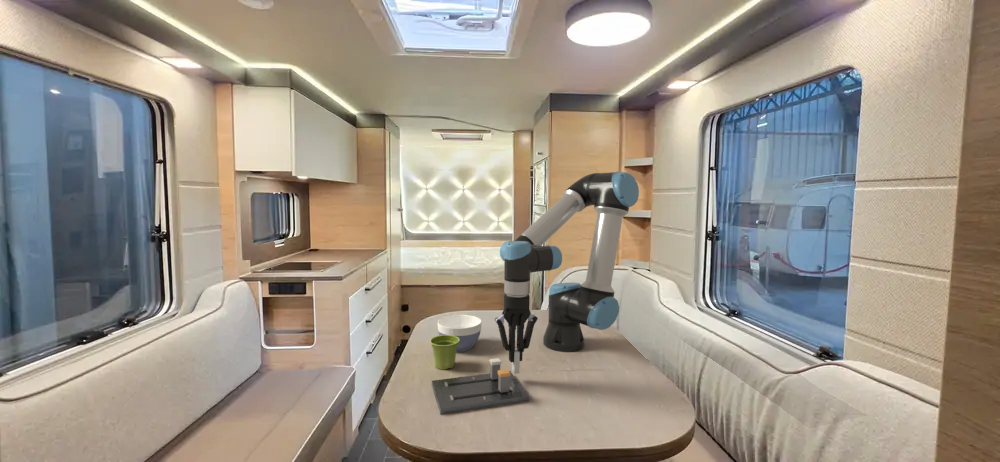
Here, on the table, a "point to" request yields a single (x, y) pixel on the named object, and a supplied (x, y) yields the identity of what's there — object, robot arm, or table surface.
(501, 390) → the fader orange
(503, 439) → the table surface
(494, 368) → the fader white
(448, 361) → the plant pot
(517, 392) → the console
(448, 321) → the bowl
